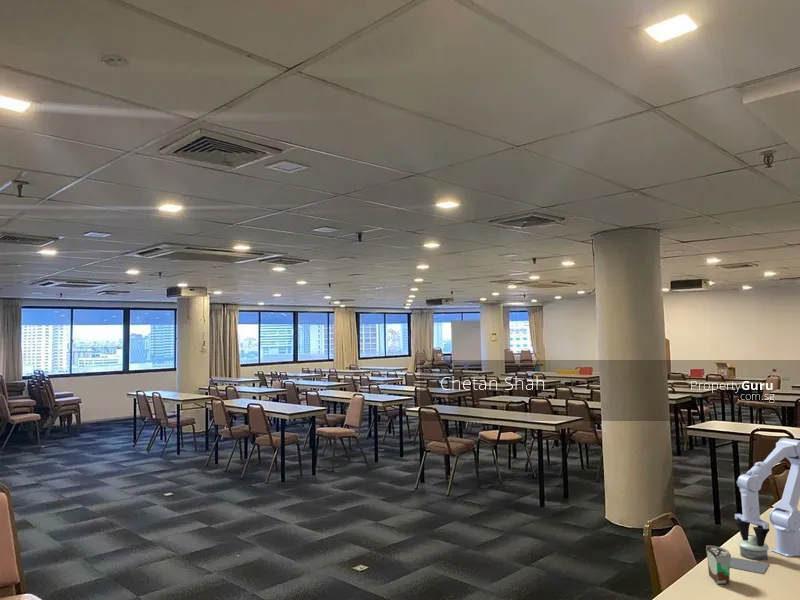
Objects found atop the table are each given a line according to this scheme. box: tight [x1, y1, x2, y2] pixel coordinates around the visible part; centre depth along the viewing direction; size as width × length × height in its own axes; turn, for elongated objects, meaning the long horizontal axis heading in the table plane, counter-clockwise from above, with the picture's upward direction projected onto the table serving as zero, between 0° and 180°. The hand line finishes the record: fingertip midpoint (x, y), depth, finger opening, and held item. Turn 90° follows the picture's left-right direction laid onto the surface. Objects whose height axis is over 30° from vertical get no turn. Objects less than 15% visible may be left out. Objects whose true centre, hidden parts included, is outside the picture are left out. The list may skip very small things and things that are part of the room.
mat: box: [730, 556, 770, 575], centre depth 217 cm, size 12×12×1 cm
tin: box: [739, 547, 769, 561], centre depth 227 cm, size 9×9×4 cm
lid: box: [737, 534, 769, 552], centre depth 227 cm, size 10×10×4 cm
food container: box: [705, 545, 732, 586], centre depth 203 cm, size 12×6×10 cm, turn 168°
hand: (753, 543), depth 227 cm, fingers open, 7 cm apart
